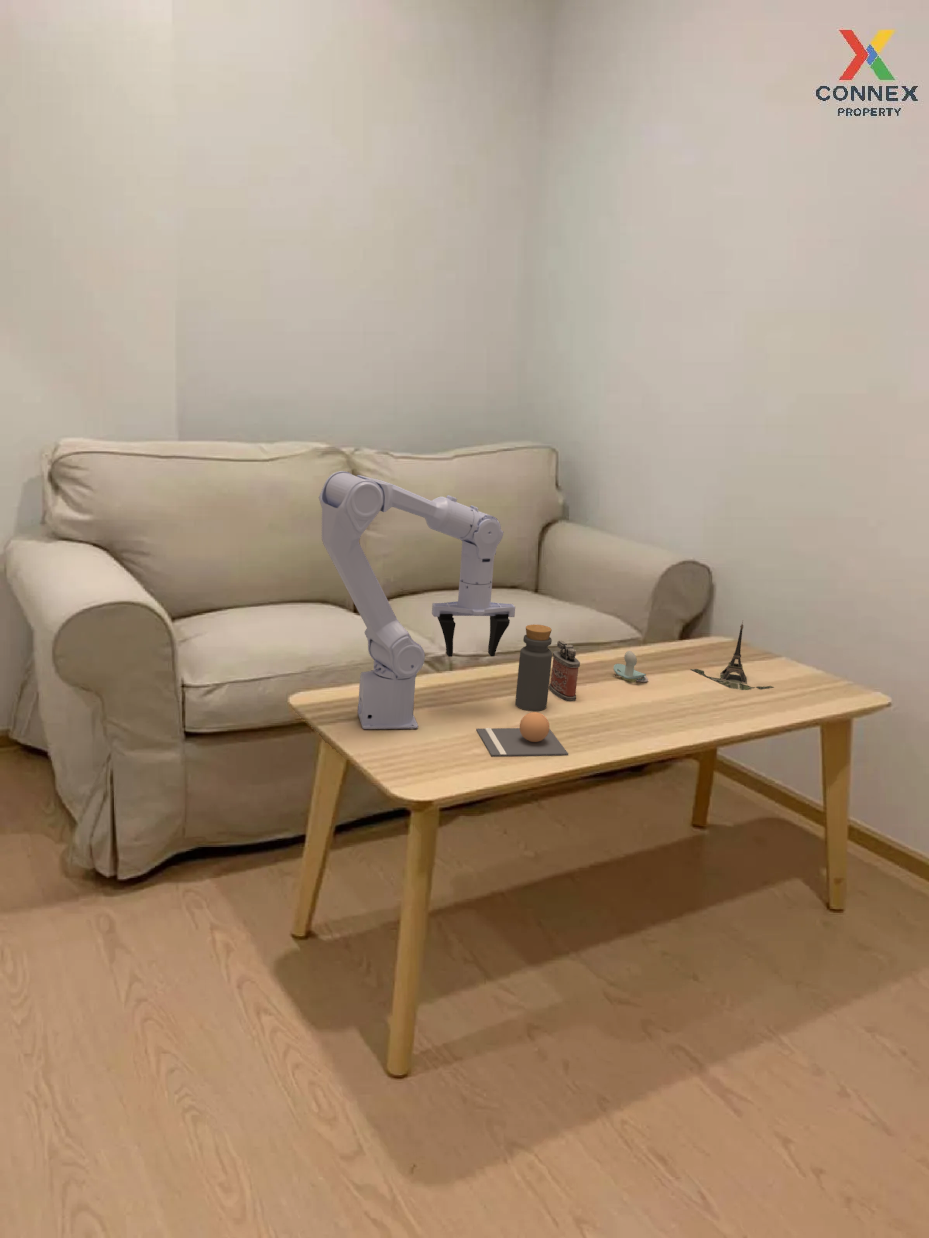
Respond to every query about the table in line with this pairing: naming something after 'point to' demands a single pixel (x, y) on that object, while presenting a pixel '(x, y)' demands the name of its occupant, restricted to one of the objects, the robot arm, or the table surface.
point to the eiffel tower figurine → (732, 679)
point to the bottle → (534, 669)
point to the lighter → (564, 672)
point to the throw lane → (518, 743)
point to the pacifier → (629, 669)
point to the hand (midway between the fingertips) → (470, 654)
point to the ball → (534, 727)
